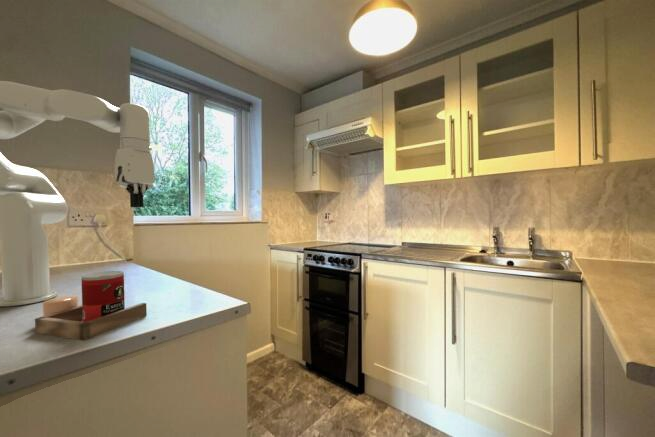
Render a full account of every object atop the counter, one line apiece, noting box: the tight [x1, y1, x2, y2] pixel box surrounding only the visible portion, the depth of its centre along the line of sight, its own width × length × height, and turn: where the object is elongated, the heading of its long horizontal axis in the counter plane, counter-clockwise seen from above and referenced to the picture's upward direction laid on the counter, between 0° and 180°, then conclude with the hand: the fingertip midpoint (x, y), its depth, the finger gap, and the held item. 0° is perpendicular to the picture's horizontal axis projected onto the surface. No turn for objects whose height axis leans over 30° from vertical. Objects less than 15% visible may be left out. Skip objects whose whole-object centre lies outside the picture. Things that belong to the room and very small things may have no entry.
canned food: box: [81, 270, 126, 322], centre depth 66 cm, size 8×8×11 cm
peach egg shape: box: [42, 295, 79, 317], centre depth 67 cm, size 6×6×5 cm
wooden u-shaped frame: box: [34, 302, 148, 341], centre depth 65 cm, size 14×14×3 cm
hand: (136, 206), depth 87 cm, fingers closed
